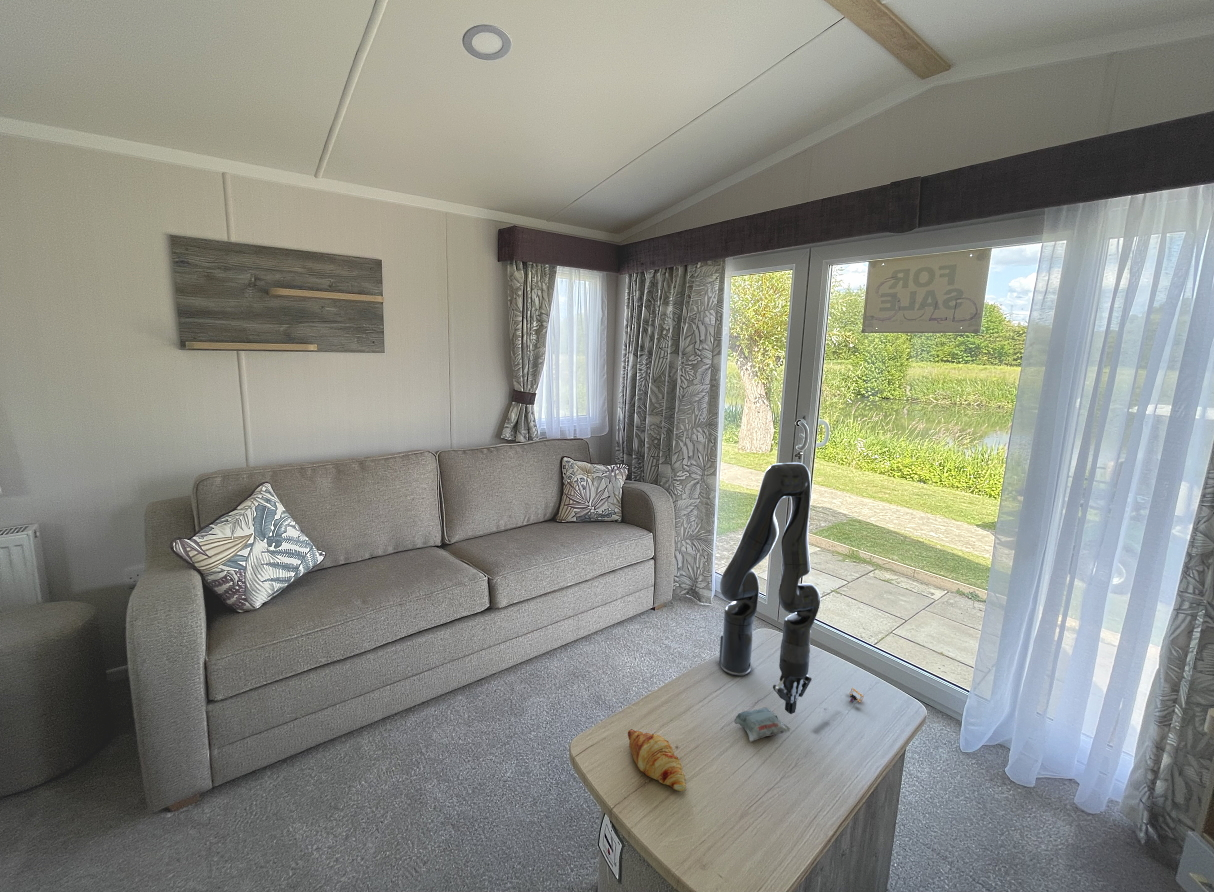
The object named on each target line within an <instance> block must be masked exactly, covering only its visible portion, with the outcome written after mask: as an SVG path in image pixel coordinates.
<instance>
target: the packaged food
mask: <svg viewBox="0 0 1214 892" xmlns="http://www.w3.org/2000/svg"><path fill="white" fill-rule="evenodd" d="M733 721H734V724H736V725H737V724H738V725H739V726H740V727H742V728H743V729H744V730H745V731H746V734H747V735H748V739H749V742H754V741H757V740H760V739H762V738H765V737H771V736H774V735H779V734H784V733H787V732H790V731H791V728H790V727H789V726H787V724H784V722H783V721H781V720H780V719H779V717H778V715H776V714H775V713H774V712H773V711H772V710H770V709H769V708H767V707H762V708H758V709H754V710H748V711H742V712H739V713H738V714H737V715H736V716H735V719H734V720H733Z"/></svg>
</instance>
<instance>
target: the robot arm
mask: <svg viewBox="0 0 1214 892" xmlns="http://www.w3.org/2000/svg"><path fill="white" fill-rule="evenodd" d="M811 480H812V479H811V473H810V471H809V469H808V467H807V466H806V465H805V464H803V463H801V462H784V463H783V462H780V463H774V464H771V465H770V466H768V467H767V469H766V470H765V472H764V475H763V477H762V480H761V484H760V487H759V489H758V495H757V497H756V501H755V503H754V506H753V509H752V511H751V514H750V517H749V519H748V520H747V523H746V525H745V528H744V530H743V532H742V535H741V538H740V541H739V543H738V545H737V547H736V549H735V552H734V554H733V555H732V557H731V560H730V561H729V563H728V564H727V566H726V568H725V570H724V571H723V573H722V575H721V577H720V582H719V585H720V586H719V589H720V594H721V596H722V597H723V598H724V599H725V600H726V601H728V602H731V603H729V604H727V605H726V607H725V608H724V609H723V610H724V611H723V628H722V635H721V636H720V641H719V657H718V658H719V659H718V660H719V661H718V663H719V664H720V668H721V669H722V670H723V671H724V672H725V673H727V674H729V675H731V676H736V677H737V676H738V677H742V676H746V675H748V674H749V673H750V672H751V669H752V650H753V636H754V621H755V616H756V614H757V612H758V604H759V596H760V581H759V578H758V577H759V576H757V573H756V572H755V571H754V570H753V569H754V568H755V567H757V566H758V565H759V564H760V563H761V562H762V561H764V560H766V558H767V557H768V556H769V554H770V553H771V552H772V550H773V548H774V546H775V544H776V542H777V540H778V537H779V533H780V531H779V524H778V520H777V518H776V510H777V507H778V506H779V504H780V501H781V500H782V499H783V498H790V501H791V510H790V514H789V519H788V522H787V524H786V526H785V529H784V532H783V534H782V537H781V544H780V552H781V563H782V571H781V577H780V583H779V587H778V601H779V604H780V606H781V609H783V611H784V612H786V613H788V614H790V615H788V616H786V617H785V618H784V620H783V626H782V637H781V642H780V652H779V664H778V667H779V670H780V673H781V674H780V676H779V682H778V684H773V686H772V689H773V690H774V692H775V693H776V694H777V696H778V697H779V698H780V699H781V700H782V701H784V710H785V712H786V713H788V714H789V715H793V714H795V713H796V710H797V704H798V703H797V702H798V701H799V698H803V696H804V694H805V693H806V691H807V689H808V688H809V685H810V684H811V682H812V679H813V678H812V677H810V676H809V675H808V674H809V669H810V658H811V635H812V627H813V625H814V623H815V620H816V618H817V615H818V613H819V609H820V607H821V594H820V591H819V589H818V588H817V586H815V585H814V584H812V583H800V580H801V578H803V577H805V576H807V575H809V574H810V573H811V568H812V567H811V558H810V547H809V522H810V509H811V492H812V491H811V490H812V481H811Z"/></svg>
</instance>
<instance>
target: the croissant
mask: <svg viewBox="0 0 1214 892" xmlns="http://www.w3.org/2000/svg"><path fill="white" fill-rule="evenodd" d="M627 738H628V740H629V742H628V743H629V745H628V747H629V750H630V752H631V755H632V759H633V761H634V763H635V764H636V766H637V768H638V769H639V770H640V772H642V773H643V774H644V775H646V776H647V777H649V778H650V779H654V780H656V781H658V782H659V783H661V784H663V785H667V786H670V787H671V788H672V789H673V790H675V791H678V792H684V791H685V790H686V788H687V786H686V785H687V784H686V777H685V773H684V772H683V765H682V763H681V760H680V759H679V757H678V756H676V755H675V753H674V749H673V747H672V746H671V744H670V742H669V740H667V739H666V738H665V737H663V736H662V735H660V734H658V733H655V734H654V733H652V734H651V733H650V732H645V733H643V731H640V730H634V729H633V728H630V729H629V730H628V731H627Z"/></svg>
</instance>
